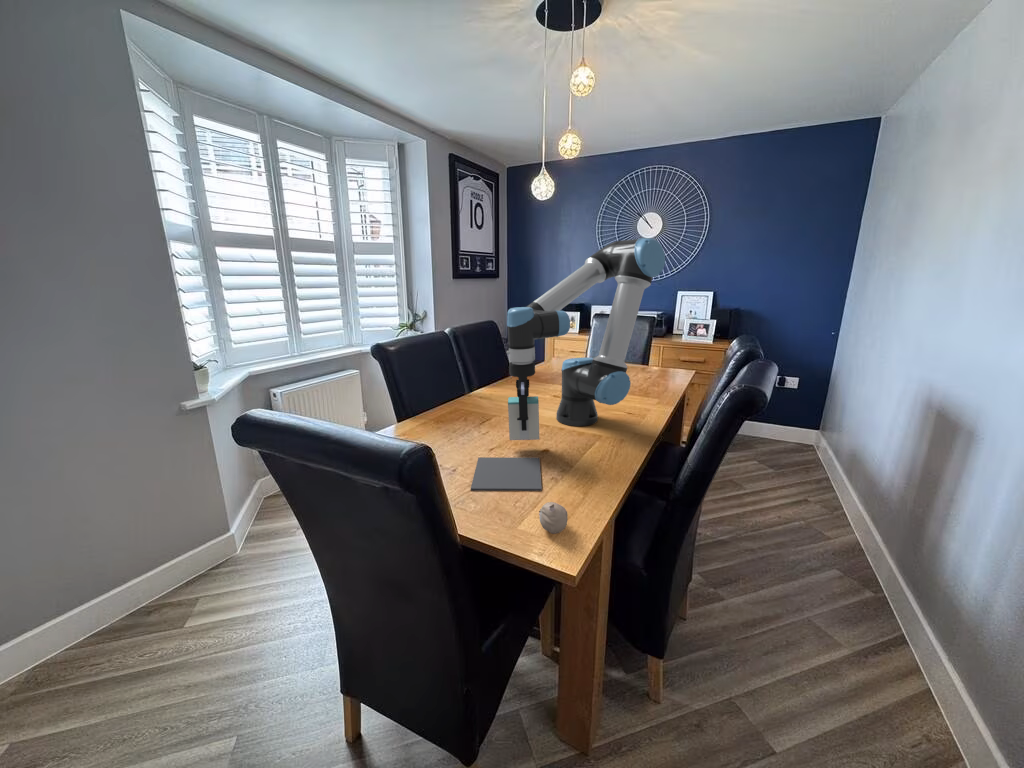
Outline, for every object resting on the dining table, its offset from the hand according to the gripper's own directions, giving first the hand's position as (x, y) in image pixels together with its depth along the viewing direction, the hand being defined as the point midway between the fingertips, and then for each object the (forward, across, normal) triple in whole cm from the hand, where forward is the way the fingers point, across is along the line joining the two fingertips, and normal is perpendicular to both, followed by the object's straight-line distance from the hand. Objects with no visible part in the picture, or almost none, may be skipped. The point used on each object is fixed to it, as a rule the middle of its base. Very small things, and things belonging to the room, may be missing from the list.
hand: (524, 435), depth 127 cm
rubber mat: (+5, +16, -5) cm, 17 cm away
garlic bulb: (+5, +40, +6) cm, 41 cm away
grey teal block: (0, 0, 0) cm, 0 cm away
